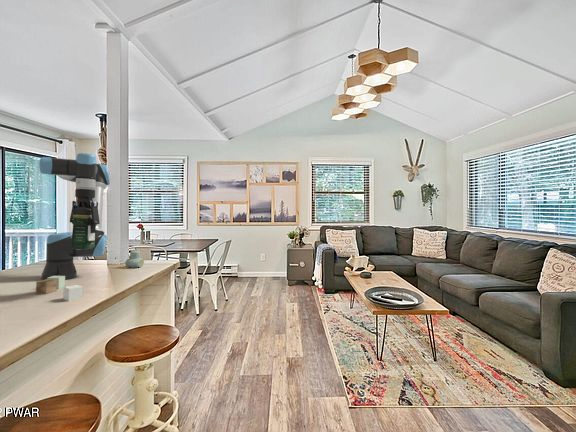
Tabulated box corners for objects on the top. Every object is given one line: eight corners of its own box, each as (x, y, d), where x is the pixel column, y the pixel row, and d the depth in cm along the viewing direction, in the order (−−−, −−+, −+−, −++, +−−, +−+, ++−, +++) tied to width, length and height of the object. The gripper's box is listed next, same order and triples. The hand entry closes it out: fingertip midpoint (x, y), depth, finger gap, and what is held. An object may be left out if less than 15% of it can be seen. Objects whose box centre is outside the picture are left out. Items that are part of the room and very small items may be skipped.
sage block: (46, 289, 148) (47, 277, 148) (53, 286, 153) (53, 275, 153) (58, 289, 149) (58, 278, 149) (64, 286, 154) (65, 275, 154)
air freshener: (133, 265, 215) (133, 250, 215) (145, 266, 214) (146, 250, 214) (123, 268, 204) (123, 252, 204) (136, 269, 204) (136, 252, 203)
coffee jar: (88, 250, 143) (89, 207, 142) (68, 249, 142) (69, 206, 141) (97, 247, 152) (99, 207, 152) (79, 247, 151) (80, 206, 151)
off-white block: (63, 299, 134) (63, 286, 133) (76, 296, 138) (77, 284, 138) (68, 301, 131) (69, 288, 131) (82, 299, 135) (82, 286, 135)
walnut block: (36, 293, 141) (36, 281, 141) (46, 290, 146) (46, 279, 146) (46, 294, 140) (46, 282, 140) (56, 291, 145) (56, 280, 145)
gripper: (60, 187, 147) (59, 238, 148) (94, 188, 139) (92, 242, 139) (77, 189, 154) (75, 237, 155) (110, 189, 146) (108, 240, 146)
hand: (83, 239), depth 147 cm, fingers closed on coffee jar, 9 cm apart
